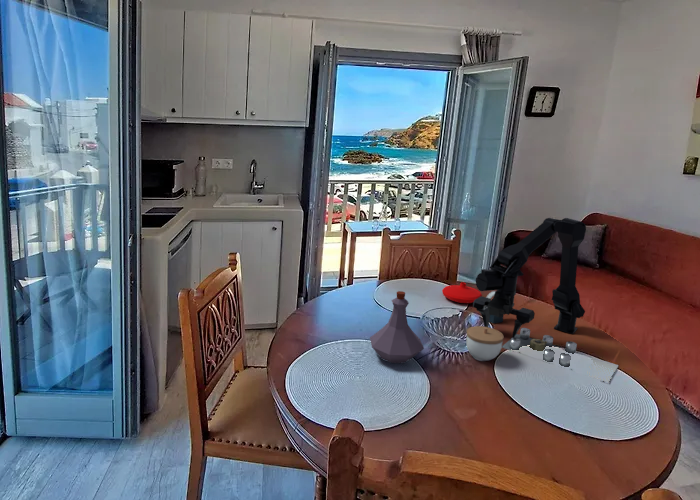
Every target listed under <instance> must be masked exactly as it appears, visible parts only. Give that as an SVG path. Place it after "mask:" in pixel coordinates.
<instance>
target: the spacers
mask: <svg viewBox="0 0 700 500" xmlns="http://www.w3.org/2000/svg"><path fill="white" fill-rule="evenodd" d="M530 334H531V329H529V328H527V327H520V332H519V335H520V338H521V339H523V340H529V338H530V336H531V335H530ZM510 339H511V340H510ZM510 339H509V340H510V346H509V348H510V349H512V350H519V348H520V342H521V340H520V339H518V338H512V337H511V338H510ZM542 341H544V342H546V346H549V347H552V345H553V342H554V337H553V336H552V335H548V334H544V335H543V337H542ZM577 345H578V344H577V343H576V342H574V341H570V340H568V341H566V343H565V348H564V349H565V351H566V352H568V353H572V354H574V353H575V352H576V351H577ZM554 354H555V352H554V351H553V350H551V349H545V350H544V354H543V360H545V361H547V362H553V360H554ZM570 360H571V356H570V355H569V354H565V353H561V354H560V358H559V364H560V365H561V366H564V367H569V366H570ZM547 362H546V363H547Z"/></svg>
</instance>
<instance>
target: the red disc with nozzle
mask: <svg viewBox="0 0 700 500" xmlns="http://www.w3.org/2000/svg"><path fill="white" fill-rule="evenodd" d="M441 291H442V292H441V293H442V295H443V296H444V297H445V298H447V299H448V300H450V301H453V302H455V303H461V304H473V302H474V300H475V299H477V298H479V297H481V296H483V294H482V291H480V290H479V289H478V288H474V287H471V286H468V285H467V283H466V282H463V281H462V282H460V284H452V285H451V284H450V285H447V286H444V287H443V288H442V290H441Z"/></svg>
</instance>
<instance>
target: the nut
mask: <svg viewBox="0 0 700 500" xmlns="http://www.w3.org/2000/svg"><path fill="white" fill-rule="evenodd" d="M529 347H530V348H532V349H533V350H537V351H543V350H544V349H545V347H546V342H544V341H543V339H540V338H539V339H538V338H532V340H531V341H530V346H529Z"/></svg>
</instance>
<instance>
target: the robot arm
mask: <svg viewBox="0 0 700 500" xmlns="http://www.w3.org/2000/svg"><path fill="white" fill-rule="evenodd" d="M586 231H587V226H586V224H585V223H584V222H583V221H580V220H577V219H572V218H570V217H569V218H568V217H565V218H564V217H563V218H562V219H558V218H553V217H547V218H545V219H544V220H543V221H542V223H541V224H539V225H538V226H537V227H536V228H535V229H533V230H532V231H531V232H529V234H528V235H526V236H525V237H524V238H523V239H521V240H520V241H519V242H517V243H515V244H514V243H513V244H511V245H508V246H507V247H505V248H503V249H501V250H500V251H499V253H498V254H497V256H496V258H495V259H494V261H493V262H492V263H491V264H490V266H489V268H488V269H486V268H482V269H480V270H481V271H480V273H478V274H477V275H476V277H475V286H476V289H477V290H478V291H480V292H490V291H491V292H492V291H496V292H495V294H494V296H493V297H492V298H491V299H490V298H486V297H487V296H483V295H482V296H481V297H479V298H477V299H475V300H474V302H473V303H472V308H474V309H475V310H476V311H477V312H479V314H480V315H481V317H482V320H483V321H482V322H483V325H484V327H489V326H490V325H489V324H490V322H489V319H490V315H494V316H497V317H503V318H504V316H503V315H507V316H509V315H513V316H515V318H516V319H515V320H514V327H513V330H512V337H511V338H514V337H515V335H516V334H518V332H519V330H521V328H522V326H523V325H525V324H529V323H531V322H532V321H533V320H534V319H535V315H536V313H535V311H534V310H533V309H530V308H526V307H521V308H520V309H517V308H514V307H515V303H514V302H515V297H516V295H517V291H516V289H517V282H518V277H523V276H524V273H523V272H522V271H521V268H522V267H523V266H524V265H525V264H526V263H527V261H528V260H529V256H530V255H531V254H532V252H534V251H535V250H536V249H538V248H539V247H540V246H542V245H543V244H544V243H545V242H546V241H548V240H549V239H550V238H551V237H552V236H553V235H554V234H555V233H557V237H558V240H559V241H560V243H561V246H562V247H561V259H560V275H559V277H560V278H559V285H558V286H557V287H556V289H555V288H554V289H552V297H551V301H552V303H553V307H554V309H555V310H556V311H559V314H558V320H557V324H556V325H555V326H553V329H554V330H557V331H559V332H564V333H566V334H570V335H574V334H575V333H576V331H577V330H578V326H577V327H576V324H577V319H581V318H582V317H584V316H585V313H586V310H585V309H584V308H583V306H582V304H581V296H580V293H579V291H578V288H577V286H576V285H577V283H576V282H577V271H578V256H579V246H580V245H581V243H583V241H584V240H585V236H586Z"/></svg>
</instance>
